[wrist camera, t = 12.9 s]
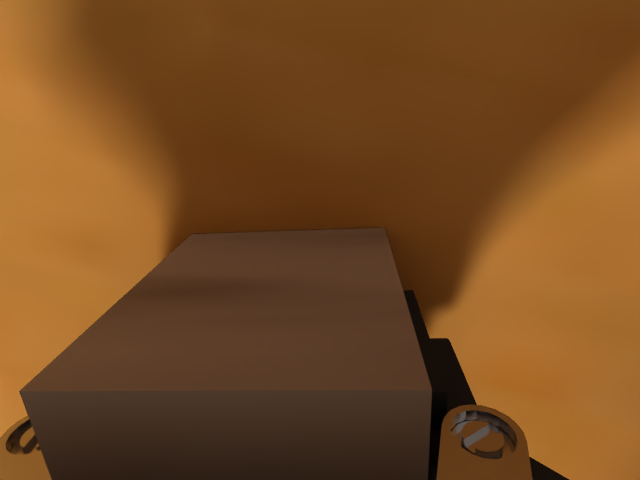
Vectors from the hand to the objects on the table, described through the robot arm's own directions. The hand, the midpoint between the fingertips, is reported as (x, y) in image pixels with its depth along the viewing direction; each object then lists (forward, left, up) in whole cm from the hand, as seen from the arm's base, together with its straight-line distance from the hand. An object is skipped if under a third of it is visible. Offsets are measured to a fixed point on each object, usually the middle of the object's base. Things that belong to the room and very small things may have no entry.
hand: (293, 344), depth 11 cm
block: (+1, 0, -1) cm, 1 cm away
